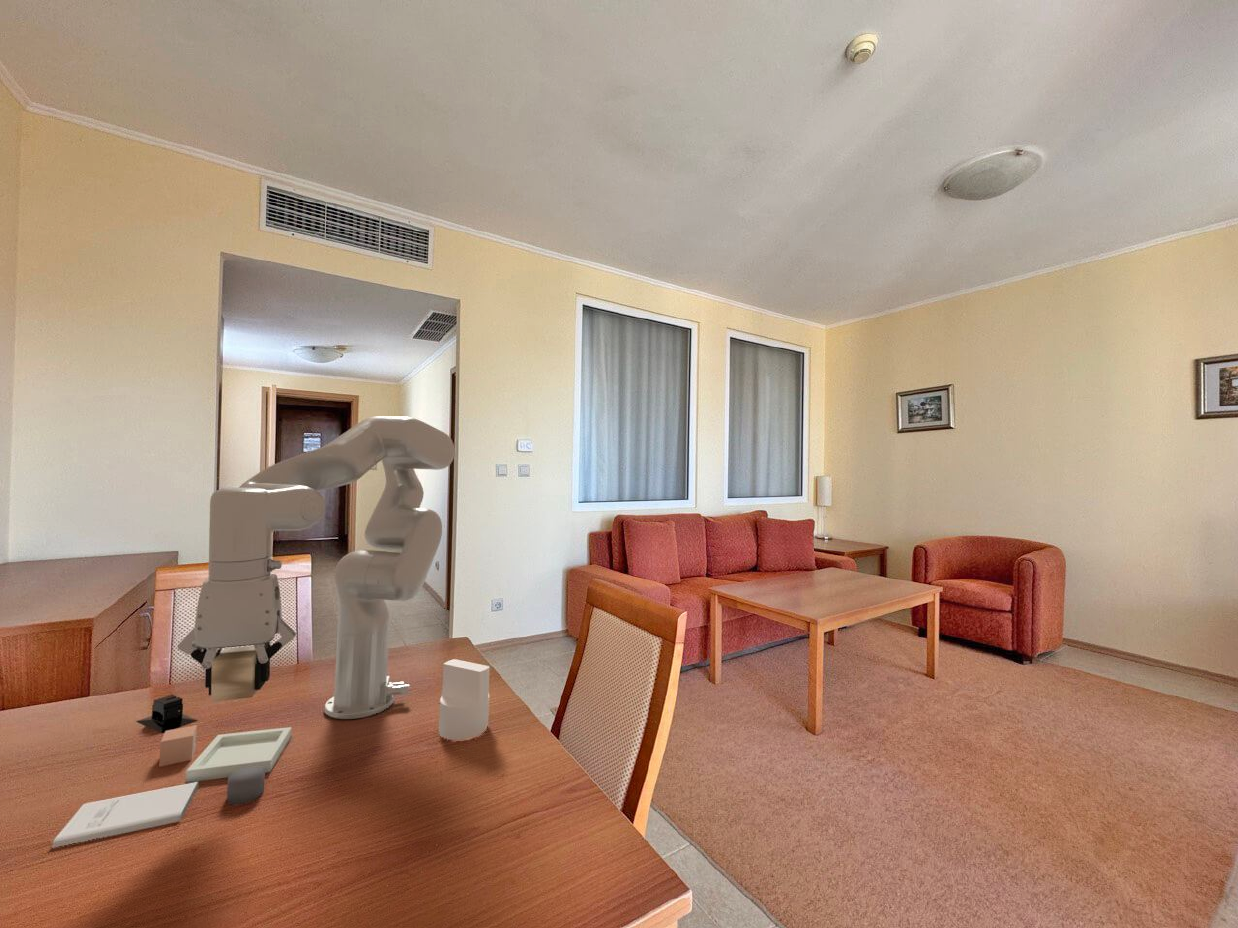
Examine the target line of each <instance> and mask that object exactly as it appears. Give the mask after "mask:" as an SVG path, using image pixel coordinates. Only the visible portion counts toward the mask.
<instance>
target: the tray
mask: <svg viewBox="0 0 1238 928" xmlns="http://www.w3.org/2000/svg"><path fill="white" fill-rule="evenodd" d="M292 728H293V727H292V726H290V727H279V728H270V729H260V730H251V731H250V730H249V731H243V732H242V731H241V732H231V733H223V734H217V735H216V736H215V737H214V739H213V740H212V741H211V742H210V743H209V744H208V746H207V747H206V748H205V749H204V750H203V751H202V752H201V753H200V754H199V755H198V757H197V758H196V759H195V761H193V762H192V763H191V765H190V766H189V767H188V768H187V769H186V771H185V784H189V783H194V782H203V781H210V780H217V779H224V778H229V776H230V775H231V774H233V773H234V772H236V771H238V770H240V769H243V768H246V767H251V766H261V767H264V768H265V773H271V771H272V770H273V768H274V766H275V765H276V763H277V762H278V760H279V758H280V756H281V755H282V753H283V751H284V750H285V748H286V746H287V745H288V743H289V742H290V740H291V738H292V731H293V729H292Z"/></svg>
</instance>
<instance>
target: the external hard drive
mask: <svg viewBox="0 0 1238 928" xmlns="http://www.w3.org/2000/svg"><path fill="white" fill-rule="evenodd" d="M198 788H199V781H195V782H188V783H184V784H180V785H179V784H178V785H174V786H169V787H163V788H159V789H153V790H149V791H143V792H138V793H133V794H127V795H122V796H116V797H113V798H107V799H103V800H102V799H101V800H97V801H91V802H90V801H89V802H86V803H83V804H82V805H81V806H80V808H79V809H78V810H77V812H75V813H74V815H73V816H72V817H71V818H70V820H69V821H68V822H67V823H66V824H65V825H64V827H63V828H62V829H61V830H60V832H59V833H57V835H56V836H55V837H54V839H53V841H52V848H53V849H55V848H54V847H57V848H59V847H58V846H61V845H63V846H62V847H65V846H64V845H67V846H69V845H68V844H72V843H76V844H80V843H79V842H81V843H84V842H85V841H86V842H89V841H88V840H90V841H93V840H92V839H95V840H99V838H100V839H103V837H104V838H108V836H109V837H113V835H114V836H117V835H123V834H127V833H132V832H136V831H141V830H145V829H149V828H155V827H159V826H164V825H169V824H173V823H177V822H181V821H182V819H183V817H184V815H185V814H186V811H187V810H188V808H189V807H190V806H189V805H190V803H191V802H192V799H193V798H194V796H195V794H196V792H197V790H198ZM122 833H123V834H122ZM96 838H98V839H96ZM77 842H78V843H77ZM72 845H73V844H72Z"/></svg>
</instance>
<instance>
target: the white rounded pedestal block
mask: <svg viewBox="0 0 1238 928" xmlns="http://www.w3.org/2000/svg"><path fill="white" fill-rule="evenodd" d="M490 667H491V666H489V665H485V664H480V663H476V662H470V661H466V660H460V659H456V658H452V659H451V660H447V661H446V662H444V663H443V668H442V669H443V670H442V673H443V674H442V688H441V689H442V691H441V692H442V693H441V697H440V699H439V717H438V718H439V719H438V721H439V722H438V735H439V734H440V735H439V736H441V738H442V737H444V738H447V739H452V740H460V739H467V738H470V737H475V736H477V735H479V734H481V733H482V732H483V731H484V730H485V729H486V728H487V726H488V727H489V716H490V714H489V713H490V712H489V711H490V692H489V691H490V671H491V670H490V669H491V668H490Z"/></svg>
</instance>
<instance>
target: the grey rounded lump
mask: <svg viewBox="0 0 1238 928" xmlns="http://www.w3.org/2000/svg"><path fill="white" fill-rule="evenodd" d="M265 777H266V772H265V768H264V767H261V766H251V767H246V768H243V769H240V770H238V771H236V772H234V773H233V774H231V775H230V776H229V777H227V790H226V791H227V793H226V802H227V804H229V805H243V804H246V803H250V802H252V801H254V800H256V799H258V798H259V797H261V796H262V795H263V793H264V792H265V780H266V779H265Z"/></svg>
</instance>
